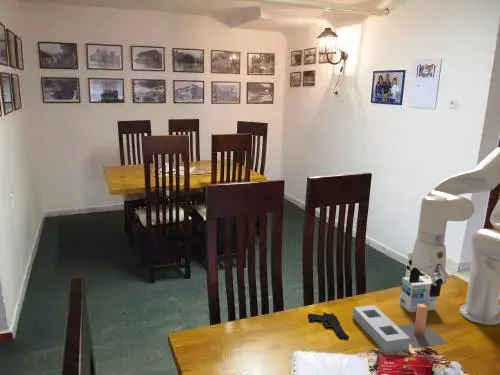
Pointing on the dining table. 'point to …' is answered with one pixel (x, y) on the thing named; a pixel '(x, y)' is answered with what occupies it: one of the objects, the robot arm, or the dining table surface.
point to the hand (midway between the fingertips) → (423, 288)
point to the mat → (427, 340)
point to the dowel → (420, 320)
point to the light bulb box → (417, 294)
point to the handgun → (329, 323)
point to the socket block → (381, 328)
